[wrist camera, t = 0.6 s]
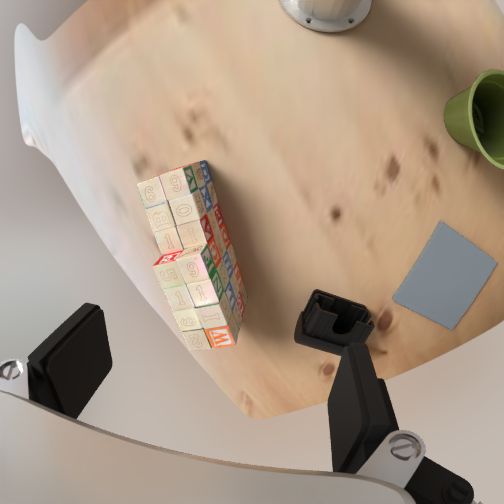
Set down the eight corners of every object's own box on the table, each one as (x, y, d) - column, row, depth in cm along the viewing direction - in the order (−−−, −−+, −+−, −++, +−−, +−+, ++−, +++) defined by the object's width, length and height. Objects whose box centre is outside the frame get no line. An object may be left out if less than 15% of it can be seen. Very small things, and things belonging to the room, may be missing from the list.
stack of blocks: (165, 172, 43) (123, 187, 31) (206, 158, 42) (174, 169, 30) (210, 304, 50) (189, 352, 38) (248, 297, 48) (235, 347, 37)
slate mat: (440, 220, 40) (443, 222, 39) (494, 260, 41) (497, 262, 40) (392, 298, 46) (393, 301, 45) (449, 327, 46) (452, 330, 45)
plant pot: (503, 118, 33) (549, 121, 22) (469, 175, 37) (513, 191, 27) (451, 63, 32) (493, 49, 21) (414, 122, 36) (451, 121, 26)
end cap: (293, 324, 49) (293, 350, 43) (311, 286, 47) (313, 310, 40) (349, 341, 49) (355, 368, 43) (369, 306, 47) (379, 331, 40)
